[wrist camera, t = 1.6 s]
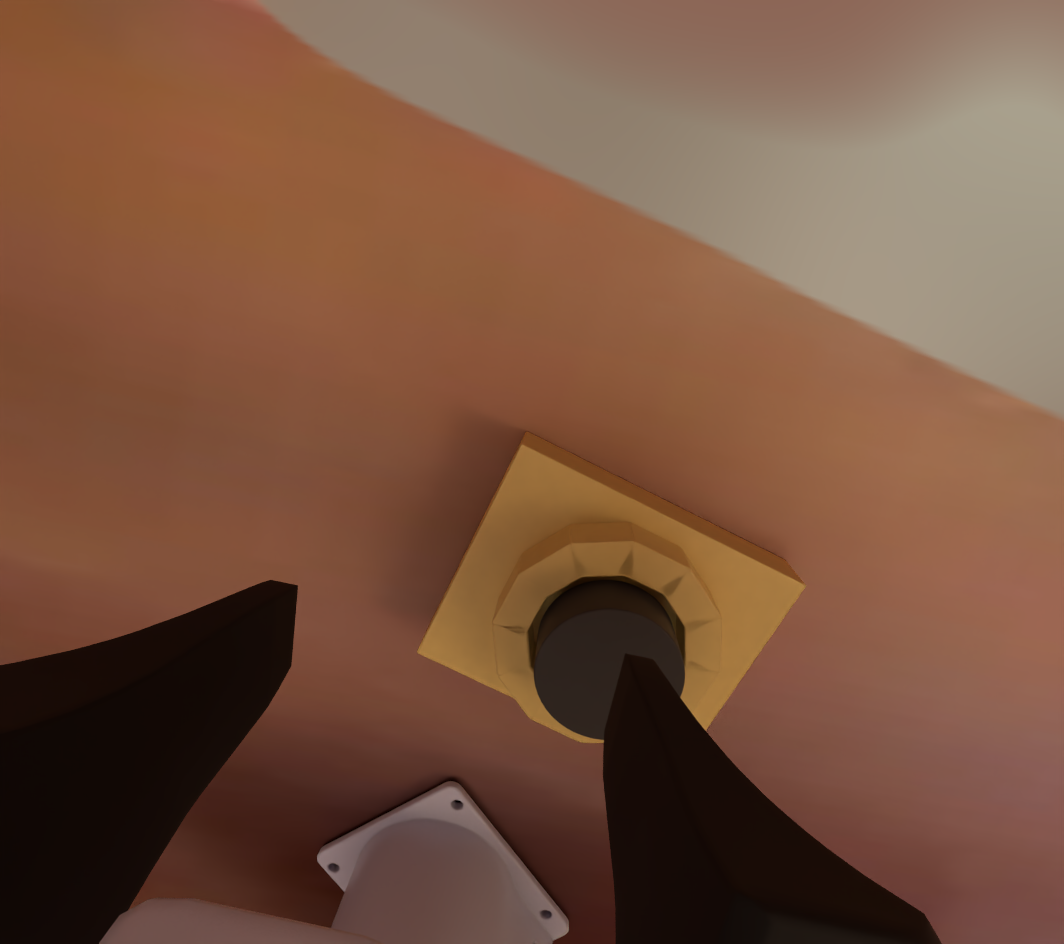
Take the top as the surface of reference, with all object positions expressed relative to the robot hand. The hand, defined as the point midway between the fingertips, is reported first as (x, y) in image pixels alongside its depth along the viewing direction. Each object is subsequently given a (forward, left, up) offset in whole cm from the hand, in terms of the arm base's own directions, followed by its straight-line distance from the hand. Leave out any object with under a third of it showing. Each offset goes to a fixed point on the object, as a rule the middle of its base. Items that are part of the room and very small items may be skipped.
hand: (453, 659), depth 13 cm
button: (-5, -1, -7) cm, 9 cm away
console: (-5, -1, -11) cm, 12 cm away
